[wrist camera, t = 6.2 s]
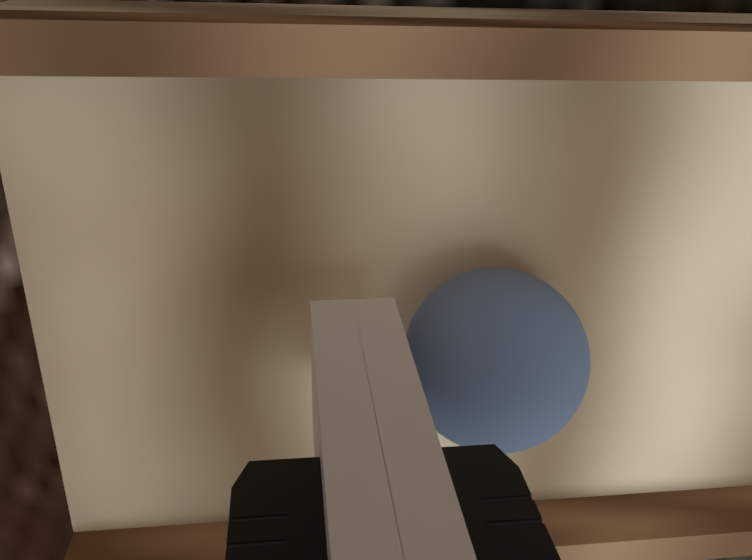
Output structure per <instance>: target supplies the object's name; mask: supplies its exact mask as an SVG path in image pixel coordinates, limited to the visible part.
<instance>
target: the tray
mask: <svg viewBox="0 0 752 560" xmlns="http://www.w3.org/2000/svg"><path fill="white" fill-rule="evenodd" d="M0 172H1V177H2V182H3V187H4V192H5V197H6V202H7V207H8V212H9V216H10V221H11V226H12V231H13V236H14V241H15V246H16V251H17V256H18V261H19V266H20V271H21V276H22V281H23V286H24V290H25V295H26V300H27V305H28V310H29V315H30V320H31V325H32V330H33V335H34V340H35V345H36V350H37V355H38V360H39V365H40V369H41V374H42V379H43V384H44V389H45V394H46V399H47V404H48V409H49V414H50V419H51V424H52V429H53V434H54V439H55V443H56V448H57V453H58V458H59V463H60V468H61V473H62V478H63V483H64V488H65V493H66V498H67V503H68V508H69V513H70V517H71V522H72V527H73V535H72V538H71V541H70V544H69V546H68V549H67V552H66V555H65V558H64V560H225V554H226V548H227V544H226V543H227V532H228V524H229V510H230V499H231V488H232V486H233V485H234V483H235V481H236V480H237V478H238V477H239V475H240V474H241V472H242V471H243V469H244V468H245V466H246V465H247V463H248V462H249V461H258V460H274V459H291V458H308V457H315V456H314V441H313V422H312V369H311V316H310V301H316V300H346V299H375V298H394V299H395V302H396V305H397V309H398V312H399V315H400V318H401V321H402V324H403V328H404V331H405V334H407V331H408V328H409V325H410V323H411V320H412V318H413V316H414V315H415V313H416V311H417V310H418V308H419V306H420V305H421V304H422V303H423V301H424V300H425V299H426V298H427V297H428V296H429V295H430V294H431V293H432V292H433V291H434V290H435V289H436V288H438V287H439V286H440V285H442V284H443V283H445V282H447V281H448V280H450V279H451V278H454V277H456V276H458V275H460V274H463V273H466V272H469V271H473V270H478V269H484V268H506V269H513V270H517V271H521V272H524V273H527V274H530V275H532V276H535V277H537V278H538V279H540V280H542V281H544V282H546V283H547V284H549V285H550V286H551V287H553V288H554V289H556V290H557V291H558V292H559V293H560V294H561V295H562V296H563V297H564V298H565V299H566V300H567V301H568V302H569V304H570V305H571V306H572V307H573V309H574V310H575V312H576V314H577V315H578V317H579V318H580V321H581V323H582V325H583V327H584V330H585V333H586V336H587V339H588V343H589V350H590V376H589V381H588V386H587V390H586V393H585V395H584V398H583V400H582V402H581V404H580V406H579V408H578V409H577V411H576V413H575V414H574V416H573V417H572V418H571V419H570V421H569V422H568V423H567V424H566V425H565V426H564V427H563V428H562V429H561V430H560V431H559V432H558V433H557V434H555V435H554V436H553V437H551V438H550V439H548V440H547V441H545V442H543V443H541V444H539V445H537V446H535V447H532V448H529V449H527V450H523V451H519V452H514V453H505V454H506V455H507V456H508V457H509V458H510V459H511V460H512V461H513V462H514V463H515V464H516V465H518V466H519V468H520V470H521V472H522V475H523V477H524V479H525V481H526V483H527V486H528V488H529V490H530V492H531V497H532V500H534V501H535V503H536V506H537V508H538V510H539V512H540V514H541V517H542V523H543V524H545V525H546V528H547V530H548V532H549V534H550V537H551V539H552V541H553V543H554V545H555V548H556V550H557V552H558V554H559V556H560V559H561V560H706V559H718V558H730V557H742V556H752V13H708V12H659V11H611V10H562V9H514V8H466V7H417V6H369V5H320V4H272V3H223V2H175V1H126V0H8V1H3V2H0ZM436 432H437V431H436ZM437 435H438V438H439V441H440V445H441V447H453V446H460V445H458V444H455V443H453V442H451V441H450V440H448V439H447V438H445V437H444V436H442V435H441V434H439V433H438V432H437Z"/></svg>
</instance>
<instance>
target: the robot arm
mask: <svg viewBox="0 0 752 560" xmlns="http://www.w3.org/2000/svg"><path fill="white" fill-rule="evenodd" d="M310 316H311V369H312V422H313V441H314V456H315V457H308V458H291V459H274V460H258V461H249V462H248V463H247V465H246V466H245V468H244V469H243V471H242V472H241V474H240V475H239V477H238V478H237V480H236V481H235V483H234V485H233V486H232V488H231V499H230V510H229V524H228V532H227V543H226V544H227V548H226V554H225V560H561V559H560V556H559V554H558V552H557V550H556V548H555V545H554V543H553V541H552V539H551V537H550V534H549V532H548V530H547V528H546V525H545V524H543V523H542V517H541V514H540V512H539V510H538V508H537V506H536V503H535V501H534V500H532V497H531V492H530V490H529V488H528V486H527V483H526V481H525V479H524V477H523V475H522V472H521V470H520V468H519V466H518V465H516V464H515V463H514V462H513V461H512V460H511V459H510V458H509V457H508V456H507V455H506V454H505V453H504V452H502V451H501V450H500V449H499V448H498V447H497V446H496V445H495V444H486V445H470V446H453V447H441V445H440V441H439V438H438V435H437V432H436V429H435V426H434V422H433V419H432V416H431V413H430V410H429V407H428V403H427V400H426V397H425V394H424V391H423V388H422V384H421V381H420V378H419V375H418V372H417V369H416V365H415V362H414V359H413V356H412V353H411V350H410V347H409V343H408V340H407V337H406V334H405V331H404V328H403V324H402V321H401V318H400V315H399V312H398V309H397V305H396V302H395V299H394V298H375V299H346V300H316V301H310Z"/></svg>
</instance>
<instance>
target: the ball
mask: <svg viewBox="0 0 752 560" xmlns="http://www.w3.org/2000/svg"><path fill="white" fill-rule="evenodd" d="M406 337H407V340H408V343H409V347H410V350H411V353H412V356H413V359H414V362H415V365H416V369H417V372H418V375H419V378H420V381H421V384H422V388H423V391H424V394H425V397H426V400H427V403H428V407H429V410H430V413H431V416H432V419H433V422H434V426H435V429H436V431H437V432H438V433H439V434H441V435H442V436H444V437H445V438H447V439H448V440H450V441H451V442H453V443H455V444H458V445H460V446H470V445H486V444H495V445H496V446H497V447H498V448H499V449H500V450H501V451H502V452H504V453H514V452H519V451H523V450H527V449H529V448H532V447H535V446H537V445H539V444H541V443H543V442H545V441H547V440H548V439H550V438H551V437H553V436H554V435H555V434H557V433H558V432H559V431H560V430H561V429H562V428H563V427H564V426H565V425H566V424H567V423H568V422H569V421H570V419H571V418H572V417H573V416H574V414H575V413H576V411H577V409H578V408H579V406H580V404H581V402H582V400H583V398H584V395H585V393H586V390H587V386H588V381H589V376H590V350H589V343H588V339H587V336H586V333H585V330H584V327H583V325H582V323H581V321H580V318H579V317H578V315H577V314H576V312H575V310H574V309H573V307H572V306H571V305H570V304H569V302H568V301H567V300H566V299H565V298H564V297H563V296H562V295H561V294H560V293H559V292H558V291H557V290H556V289H554V288H553V287H551V286H550V285H549V284H547V283H546V282H544V281H542V280H540V279H538V278H537V277H535V276H532V275H530V274H527V273H524V272H521V271H517V270H513V269H506V268H484V269H478V270H473V271H469V272H466V273H463V274H460V275H458V276H456V277H454V278H451V279H450V280H448V281H447V282H445V283H443V284H442V285H440V286H439V287H438V288H436V289H435V290H434V291H433V292H432V293H431V294H430V295H429V296H428V297H427V298H426V299H425V300H424V301H423V303H422V304H421V305H420V306H419V308H418V310H417V311H416V313H415V315H414V316H413V318H412V320H411V323H410V325H409V328H408V331H407V334H406Z"/></svg>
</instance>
